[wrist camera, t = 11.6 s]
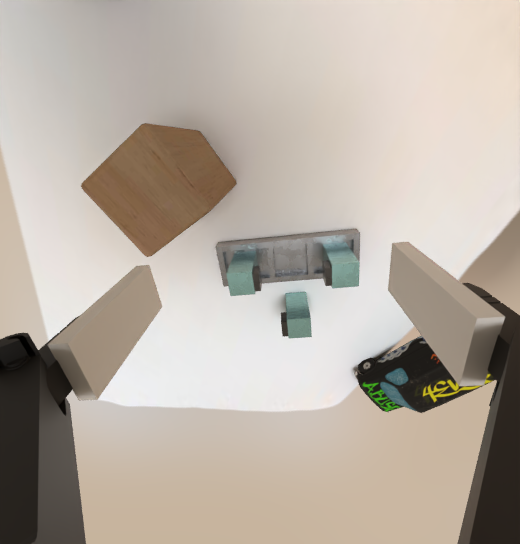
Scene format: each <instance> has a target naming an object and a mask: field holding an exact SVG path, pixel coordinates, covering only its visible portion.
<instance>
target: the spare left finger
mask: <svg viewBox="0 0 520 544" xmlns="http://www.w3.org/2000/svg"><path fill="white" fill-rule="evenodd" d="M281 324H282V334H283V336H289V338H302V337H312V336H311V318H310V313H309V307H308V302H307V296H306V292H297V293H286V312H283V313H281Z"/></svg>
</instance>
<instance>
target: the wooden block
mask: <svg viewBox="0 0 520 544" xmlns="http://www.w3.org/2000/svg"><path fill="white" fill-rule="evenodd" d="M235 185H236V181H235V179H234V178H233V176H232V175H231V174H230V172H229V171H228V170H227V168H226V167H225V165H224V164H223V163H222V161H221V160H220V158H219V157H218V156H217V154H216V153H215V152H214V150H213V149H212V147H211V146H210V145H209V143H208V142H207V141H206V139H205V138H204V136H203V135H202V134H201V132H199V131H196V130H189V129H182V128H175V127H168V126H161V125H153V124H146V123H145V124H142V125H141V126H140V127H139V128H138V129H137V130H136V131H135V132H134V133H133V134H132V135H131V136H130V137H129V138H128V139H127V140H126V141H125V142H124V143H122V144H121V145H120V146H119V147H118V148H117V149H116V150H115V151H114V152H113V153H112V154H111V155H110V156H109V157H108V158H107V159H106V160H105V161H104V162H103V163H102V164H101V165H100V166H99V167H98V168H97V169H96V170H95V171H94V172H93V173H92V174H91V175H90V176H89V177H88V178H87V179H86V180H85V181H84V182H83V183H82V185H81V187H82V189H83V190H84V191H85V192H86V193H87V194H88V196H89V197H90V198H91V199H92V200H93V201H94V202H95V203H96V204H97V205H98V206H99V207H100V208H101V209H102V210H103V211H104V213H105V214H106V215H107V216H108V217H109V218H110V219H111V220H112V221H113V222H114V223H115V224H116V225H117V226H118V227H119V228H120V230H121V231H122V232H123V233H124V234H125V235H126V236H127V237H128V238H129V239H130V240H131V241H132V242H133V243H134V244H135V246H136V247H137V248H138V249H139V250H140V251H141V252H142V253H143V254H144V255H145V256H147V257H149V256H152V255H153V254H155V253H156V252H157V251H159V250H160V249H161V248H162V247H164V246H165V245H166V244H168V243H169V242H170V241H172V240H173V239H174V238H176V237H177V236H178V235H179V234H181V233H182V232H183V231H185V230H186V229H187V228H189V227H190V226H191V225H193V224H194V223H195V222H196V221H198V220H199V219H200V218H202V217H203V216H204V215H206V214H207V213H208V212H209V211H211V210H212V209H213V208H214V207H215V206H216V205H217V204H218V203H219V201H220V200H221V199H222V198H223V197H224V196H225V195H226V194H227V193H228V192H229V191H230V190H231V189H232V188H233V187H234V186H235Z"/></svg>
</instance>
